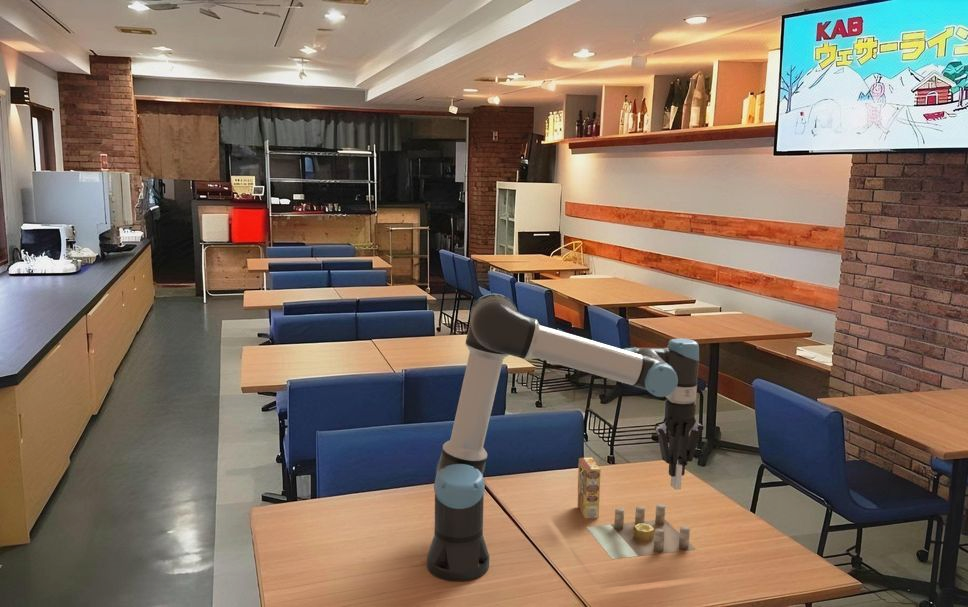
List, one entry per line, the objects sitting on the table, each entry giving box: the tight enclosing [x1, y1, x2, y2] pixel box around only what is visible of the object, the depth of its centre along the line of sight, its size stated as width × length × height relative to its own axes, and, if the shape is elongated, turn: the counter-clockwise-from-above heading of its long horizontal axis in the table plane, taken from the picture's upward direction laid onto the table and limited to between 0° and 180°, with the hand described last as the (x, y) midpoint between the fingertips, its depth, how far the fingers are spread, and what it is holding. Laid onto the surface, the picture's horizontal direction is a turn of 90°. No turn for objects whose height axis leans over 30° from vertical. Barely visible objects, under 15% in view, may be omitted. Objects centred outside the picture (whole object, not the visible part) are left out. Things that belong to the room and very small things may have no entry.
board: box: [586, 503, 698, 560], centre depth 190 cm, size 23×17×6 cm
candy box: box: [576, 457, 602, 519], centre depth 205 cm, size 9×4×15 cm, turn 8°
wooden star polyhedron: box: [633, 523, 654, 542], centre depth 191 cm, size 4×5×3 cm
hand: (675, 487), depth 191 cm, fingers closed
